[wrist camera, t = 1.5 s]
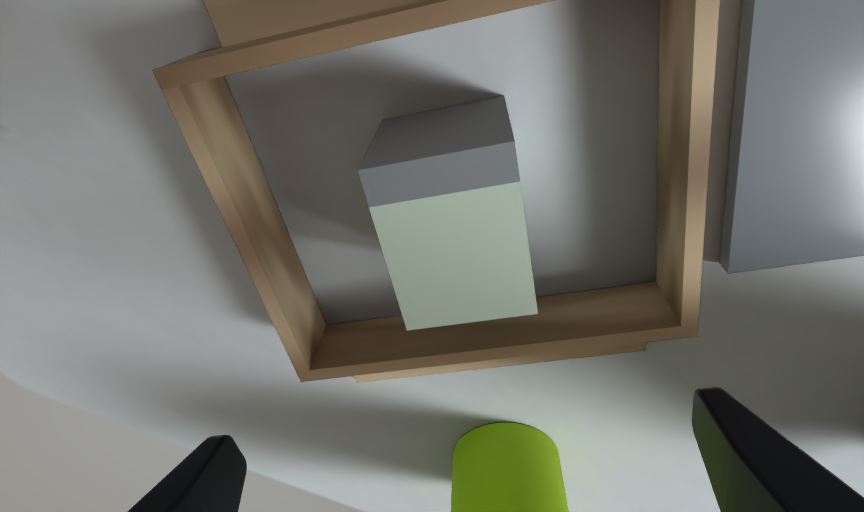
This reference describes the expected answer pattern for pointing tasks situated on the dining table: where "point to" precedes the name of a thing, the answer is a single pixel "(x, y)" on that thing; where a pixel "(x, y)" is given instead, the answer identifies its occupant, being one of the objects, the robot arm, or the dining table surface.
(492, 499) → the soap dispenser
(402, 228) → the box
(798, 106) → the coaster
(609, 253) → the dining table surface
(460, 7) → the wooden frame
